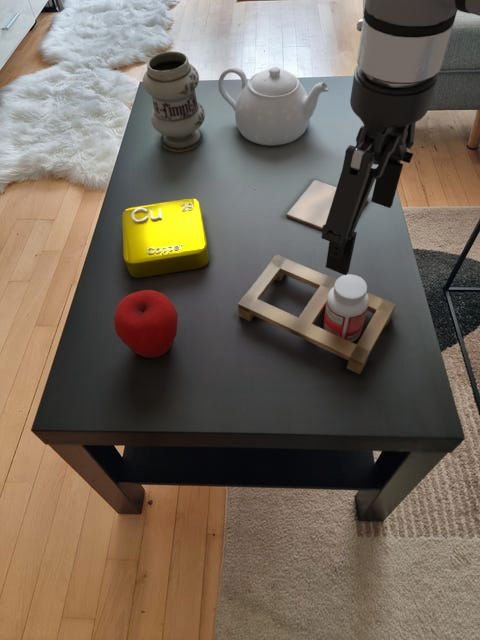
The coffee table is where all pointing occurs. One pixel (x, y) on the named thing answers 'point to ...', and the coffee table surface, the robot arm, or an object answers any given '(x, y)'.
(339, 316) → the pill bottle
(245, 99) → the teapot
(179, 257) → the element tile
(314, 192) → the brown flat square
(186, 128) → the apothecary jar
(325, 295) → the bottle rack
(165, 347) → the apple
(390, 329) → the coffee table surface
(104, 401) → the coffee table surface
